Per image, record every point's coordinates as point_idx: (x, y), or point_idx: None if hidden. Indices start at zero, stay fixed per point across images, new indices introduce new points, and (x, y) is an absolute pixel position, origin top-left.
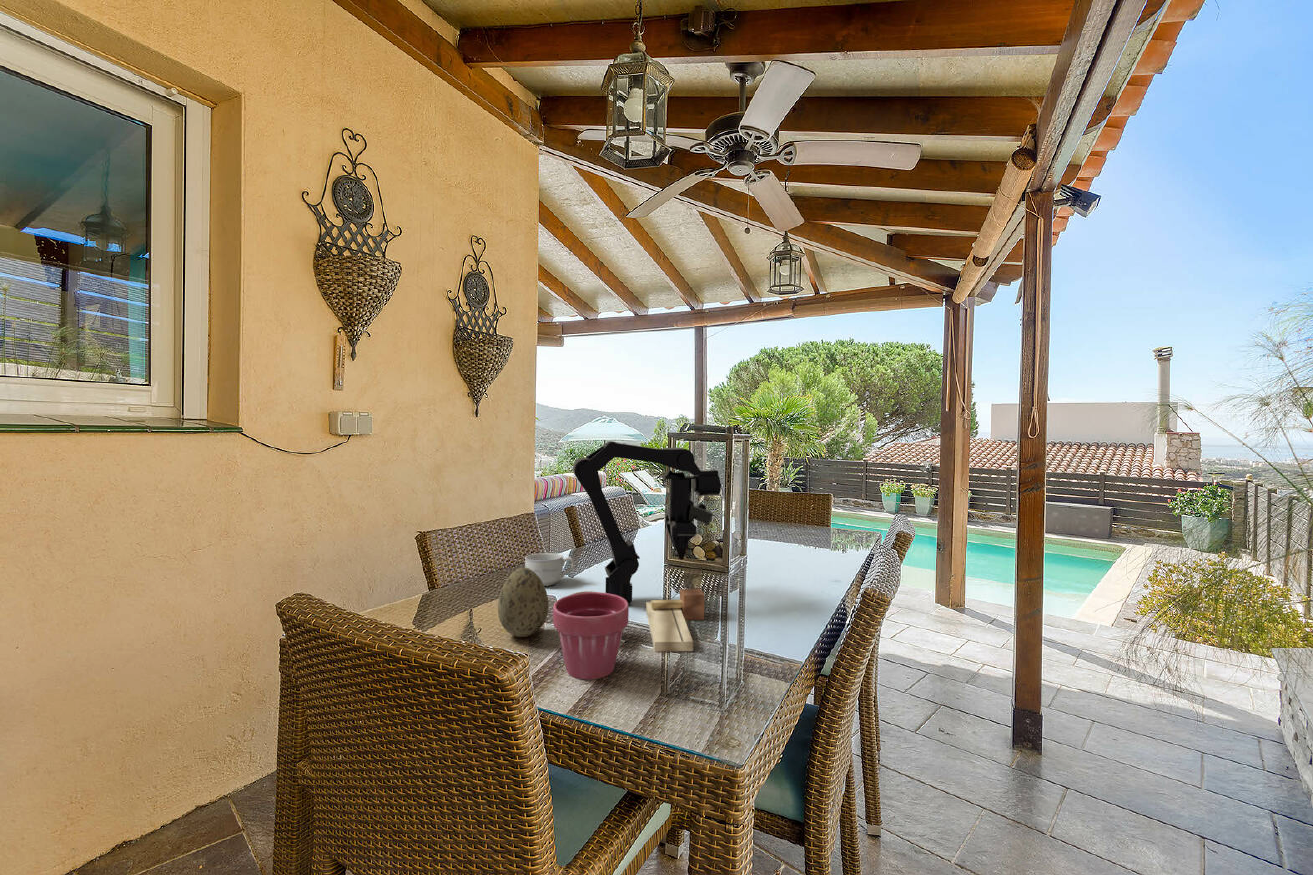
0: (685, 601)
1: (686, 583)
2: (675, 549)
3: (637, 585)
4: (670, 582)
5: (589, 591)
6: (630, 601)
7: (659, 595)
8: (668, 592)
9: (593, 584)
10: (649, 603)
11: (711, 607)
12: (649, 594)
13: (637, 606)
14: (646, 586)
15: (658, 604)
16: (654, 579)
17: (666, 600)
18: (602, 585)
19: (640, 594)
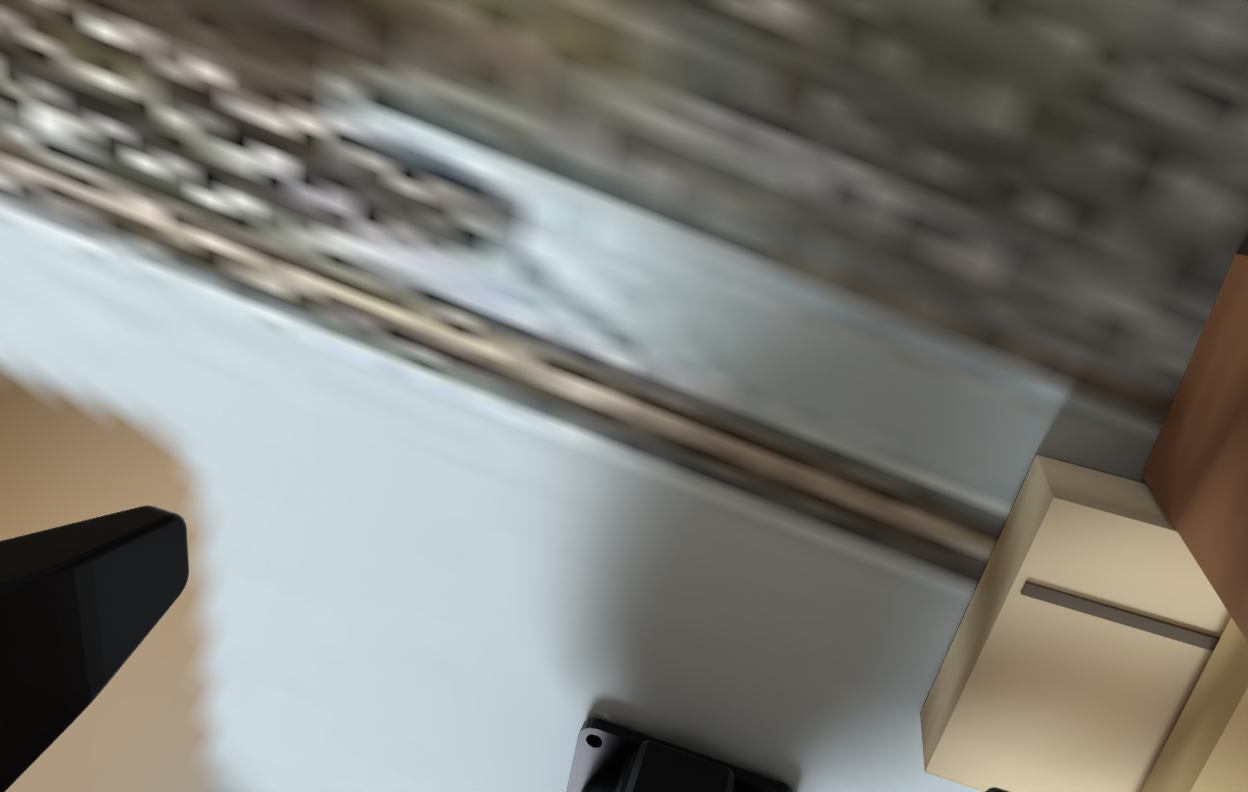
0: None
1: (177, 9)
2: (169, 595)
3: (247, 519)
4: (152, 187)
5: None
6: (732, 780)
7: (543, 449)
8: (465, 330)
9: (225, 784)
10: (983, 766)
11: (1136, 14)
12: (500, 521)
13: (799, 731)
14: (275, 459)
15: None
16: (72, 313)
17: (1240, 756)
18: (247, 745)
19: (489, 589)
